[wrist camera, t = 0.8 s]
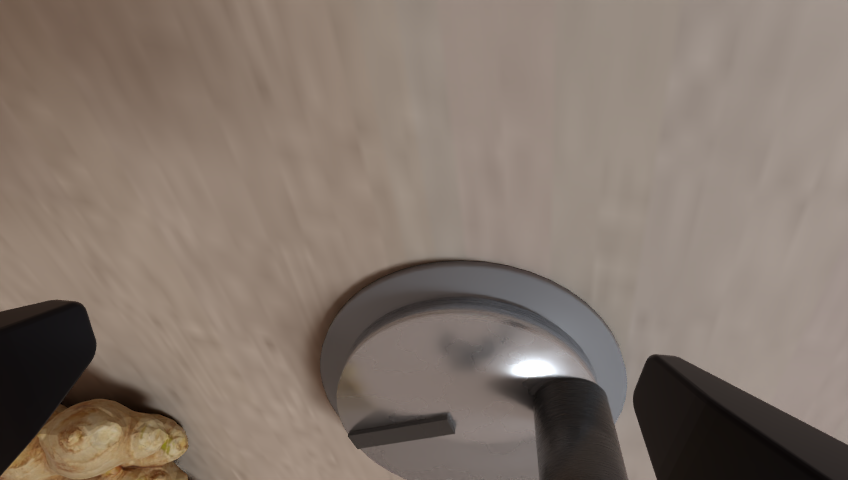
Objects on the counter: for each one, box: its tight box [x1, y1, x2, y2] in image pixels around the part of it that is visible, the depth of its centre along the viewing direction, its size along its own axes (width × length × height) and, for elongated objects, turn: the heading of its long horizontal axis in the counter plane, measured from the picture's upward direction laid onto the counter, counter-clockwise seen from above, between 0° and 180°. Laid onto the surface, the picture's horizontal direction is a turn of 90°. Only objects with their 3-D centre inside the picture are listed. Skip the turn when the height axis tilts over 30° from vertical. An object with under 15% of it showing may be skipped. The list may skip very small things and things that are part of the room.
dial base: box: [320, 261, 627, 424], centre depth 27 cm, size 17×18×2 cm
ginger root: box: [0, 399, 189, 480], centre depth 32 cm, size 16×16×8 cm
